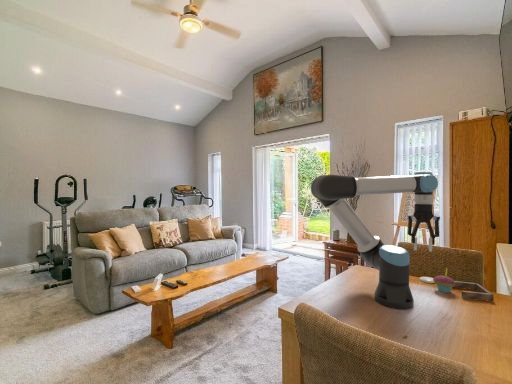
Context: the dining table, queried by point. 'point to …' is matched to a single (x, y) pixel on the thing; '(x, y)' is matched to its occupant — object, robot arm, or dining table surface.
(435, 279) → the cupcake
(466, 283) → the bay
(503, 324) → the dining table surface
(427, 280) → the white round domed disc
